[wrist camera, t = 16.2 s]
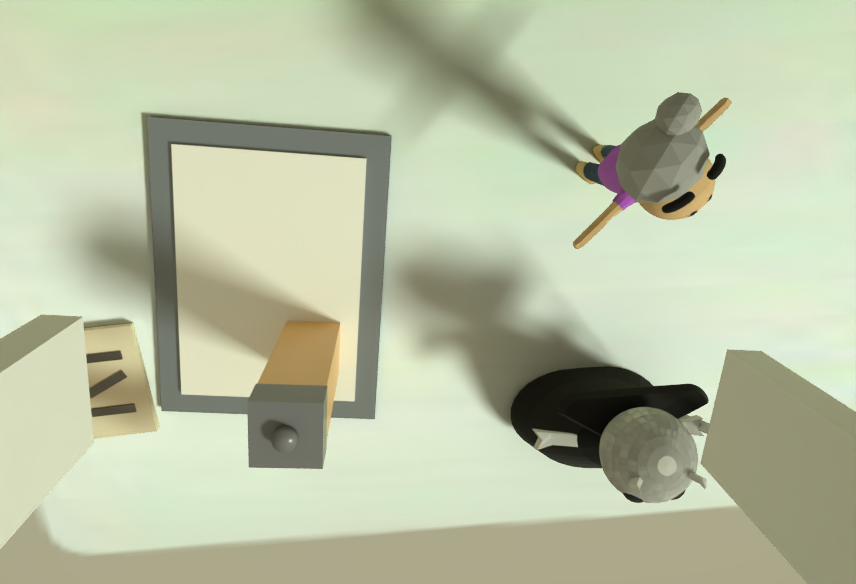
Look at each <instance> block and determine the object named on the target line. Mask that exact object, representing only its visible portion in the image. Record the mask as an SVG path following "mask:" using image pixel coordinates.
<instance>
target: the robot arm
mask: <svg viewBox="0 0 856 584" xmlns="http://www.w3.org/2000/svg"><path fill="white" fill-rule="evenodd" d="M93 443H94V439H93V428H92V416H91V405H90V393H89V382H88V371H87V359H86V348H85V336H84V325H83V317H77V316H58V315H40V316H38V317H37V318H35V319H33V320H32V321H30V322H28V323H27V324H25V325H23V326H21V327H20V328H18V329H16V330H15V331H13V332H11V333H10V334H8V335H6V336H5V337H3V338H1V339H0V549H1V547H2V546H3V545H4V544H5V543H6V542H7V541H8V540H9V538H10V537H11V536H12V535H13V534H14V533H15V532H16V531H17V529H18V528H19V527H20V526H21V525H22V524H23V523H24V521H25V520H26V519H27V518H28V517H29V516H30V514H31V513H32V512H33V511H34V510H35V509H36V508H37V507H38V506H39V504H40V503H41V502H42V501H43V500H44V499H45V498H46V496H47V495H48V494H49V493H50V492H51V491H52V490H53V488H54V487H55V486H56V485H57V484H58V483H59V482H60V481H61V479H62V478H63V477H64V476H65V475H66V474H67V473H68V471H69V470H70V469H71V468H72V467H73V466H74V465H75V463H76V462H77V461H78V460H79V459H80V458H81V457H82V456H83V454H84V453H85V452H86V451H87V450H88V449H89V448H90V446H91V445H92V444H93ZM701 464H702V465H703V467H704V468H705V469H706V470H707V471H708V472H709V473H710V474H711V476H712V477H713V478H714V479H715V480H716V481H717V482H718V483H719V485H720V486H721V487H722V488H723V489H724V490H725V491H726V492H727V494H728V495H729V496H730V497H731V498H732V499H733V500H734V501H735V503H736V504H737V505H738V506H739V507H740V508H741V509H742V510H743V511H744V513H745V514H746V515H747V516H748V517H749V518H750V519H751V521H752V522H753V523H754V524H755V525H756V526H757V527H758V528H759V529H760V531H761V532H762V533H763V534H764V535H765V536H766V537H767V539H768V540H769V541H770V542H771V543H772V544H773V545H774V546H775V547H776V549H777V550H778V551H779V552H780V553H781V554H782V555H783V556H784V558H785V559H786V560H787V561H788V562H789V563H790V564H791V566H792V567H793V568H794V569H795V570H796V571H797V572H798V573H799V575H800V576H801V577H802V578H803V579H804V580H805V581H806V582H807V584H856V412H855V411H853V410H852V409H850V408H849V407H847V406H846V405H844V404H842V403H841V402H839V401H838V400H836V399H835V398H833V397H832V396H830V395H828V394H827V393H825V392H824V391H822V390H821V389H819V388H818V387H816V386H815V385H813V384H811V383H810V382H808V381H807V380H805V379H804V378H802V377H801V376H799V375H797V374H796V373H794V372H793V371H791V370H790V369H788V368H787V367H785V366H783V365H782V364H780V363H779V362H777V361H776V360H774V359H773V358H771V357H769V356H768V355H766V354H765V353H763V352H762V351H745V350H727V353H726V357H725V361H724V366H723V370H722V374H721V378H720V383H719V387H718V391H717V395H716V400H715V404H714V408H713V412H712V417H711V421H710V425H709V429H708V434H707V438H706V442H705V446H704V451H703V455H702V459H701Z"/></svg>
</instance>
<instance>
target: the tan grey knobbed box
mask: <svg viewBox="0 0 856 584" xmlns="http://www.w3.org/2000/svg"><path fill="white" fill-rule="evenodd" d="M339 359H340V323H336V322H309V321H287V322H286V324H285V326H284V328H283V330H282V332H281V334H280V336H279V339H278V341H277V343H276V345H275V347H274V349H273V351H272V353H271V356H270V358H269V360H268V362H267V364H266V366H265V368H264V370H263V372H262V375H261V377H260V379H259V381H258V383H257V384H255V386H254V388H253V391H252V393H251V395H250V397H249V399H248V401H247V405H248V449H249V467H256V468H310V469H323V464H324V458H325V453H326V441H327V436H328V430H329V425H330V419H331V414H332V408H333V403H334V397H335V392H336V386H337V381H338V375H339Z"/></svg>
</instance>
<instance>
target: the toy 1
mask: <svg viewBox="0 0 856 584" xmlns="http://www.w3.org/2000/svg"><path fill="white" fill-rule="evenodd" d="M730 104H731V100H729V98H723V99H721V100H720V101H719V102H718V103H717V104H716V105H715V106H714V107H713V108H712V109H711V110H710V111H709V112H708V113H706V114H705V115H704V116H703V117H702V118H701V119H700V120H699V118H700V115H701V112H702V109H701V106H700V103H699V99H697V98H696V97H695V96H693V95H692V94H688V93H679V92H678V93H676V94H674V95H672V96H670V97H669V98H667V99H665V100H664V101H663V102H662V103H661V104H660V105H659V106H658V110H657V113H656V117H655V119H654V120H652V121H650V122H648V123H646V124H644V125H642V126H641V127H639V128H638V129H636V130H635V131H634V132H633V133H632V134H631V135H630V136H629V137H628V138H627V139H626V140H625V141H624V142H623V143H622V144H621V145H618V146H612V145H607V146H606V145H597V146H595V147H594V149H593V152H594V154H595V155H596V157H597V158H598V159H599V161H600V162H601V163H600V164H595V163H591V162H589V163H586V162H582V161H581V162H579V163H578V164H577V166H576V172H577V173H578V174H579V175H580V176H581V177H583V178H584V179H585V180H586V181H587V182H588V183H589V184H594V183H598V184H601V185H603V186H605V187H606V188H607V189H609V190H610V191H612V192H615V193H617V196H616V197H615V198H614V199H613V203H612V204H611V205H610V206H609V207H608V208H607V209H606V210H605V211H604V212H603V213H602V214H601V215H600V216H599V217H598V218H597V219H596V220H595V221H594V222H593V223H592V224H591V225H590V226H589V227H588V228H587V229H586V230H585V231H584V232H583V233H582V234H581V235H580V236H579V237H578V238H577V239H576V240H575V241H574V242H573V246H574V247H575V248H576V249H579V248H581V247H582V246H584V245H585V244H586V243H587V242H588V241H589V240H590V239H592V238H593V237H594V236H595V235H596V234H597V233H598V232H599V231H600V230H601V229H602V228H603V227H604V226H605V225H606V223H607V222H608V221H609V220H610V219H611V218H613V217H614V216H615V215H617V214H618V213H619V212H621V211H622V210H624V209H625V208H627V207H628V206H630V205H632V204H633V203H635V202H639V203H640V205H641V206H642V207H643V208H644V209H645V210H646V211H648V212H649V213H650V214H652V215H654V216H656V217H658V218H662V219H667V220H676V219H682V218H686V217H690V216H692V215H694V214H695V213H697V212H698V211H699V210H700V209H701V208H702V207H703V206H704V205H705V204H706V203H707V202H708V201H709V200H710V199H711V197H712V194H713V190H714V185H715V179H716V178H717V177H718V176H719V175H720V174H721V172H722V171H723V169H724V167H725V164H726V158H725V156H724V155H723V154H718V155H716V157H715V162H714V164H713V166H712V164H711V162H710V160H709V159H708V157H709V151H708V148H707V144H706V141H705V138H704V135H703V132H702V131H704V130H705V129H707V128H708V127H709V126H710V125H711V124H712V123H713V122H714V121H715V120H716V119H717V118H718V117H719V116H720V115H721V114H722V113H723V112H724V111H725V110H726V109H727V108H728V107H729V106H730Z"/></svg>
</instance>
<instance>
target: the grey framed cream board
mask: <svg viewBox="0 0 856 584" xmlns="http://www.w3.org/2000/svg"><path fill="white" fill-rule="evenodd" d="M147 133H148V152H149V172H150V192H151V212H152V231H153V251H154V271H155V290H156V310H157V330H158V349H159V369H160V389H161V409H162V411H178V412H204V413H229V414H248V405H247V401H248V399H249V397H250V395H251V393H252V391H253V388H254V386H255V384H257V383H258V381H259V379H260V377H261V375H262V372H263V370H264V368H265V366H266V364H267V362H268V360H269V358H270V356H271V353H272V351H273V349H274V347H275V345H276V343H277V341H278V339H279V336H280V334H281V332H282V330H283V328H284V326H285V324H286V322H287V321H309V322H336V323H340V359H339V375H338V381H337V386H336V392H335V397H334V403H333V408H332V414H331V417H333V418H359V419H375V403H376V387H377V370H378V353H379V337H380V320H381V303H382V287H383V270H384V253H385V236H386V220H387V203H388V186H389V170H390V153H391V136H387V135H374V134H361V133H349V132H336V131H323V130H311V129H298V128H285V127H272V126H260V125H247V124H234V123H221V122H209V121H196V120H183V119H171V118H158V117H147Z"/></svg>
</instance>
